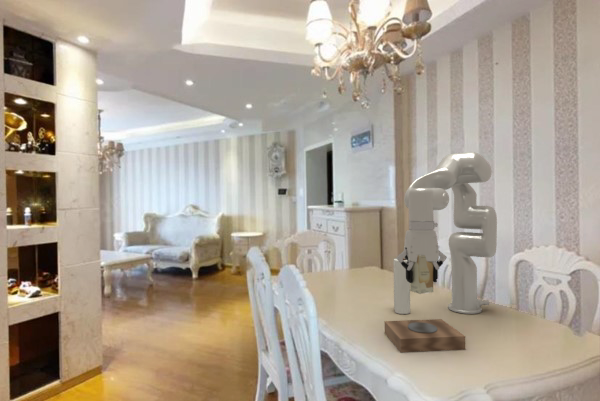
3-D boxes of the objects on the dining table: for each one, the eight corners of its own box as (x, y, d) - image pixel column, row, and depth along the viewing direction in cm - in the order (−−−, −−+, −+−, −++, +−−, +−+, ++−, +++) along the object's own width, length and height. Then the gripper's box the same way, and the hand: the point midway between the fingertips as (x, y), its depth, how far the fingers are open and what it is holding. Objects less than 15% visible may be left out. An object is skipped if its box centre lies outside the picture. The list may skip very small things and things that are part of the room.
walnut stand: (441, 330, 127) (441, 317, 127) (465, 349, 111) (465, 334, 111) (384, 332, 126) (384, 320, 126) (400, 352, 110) (400, 337, 110)
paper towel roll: (410, 315, 145) (410, 260, 145) (395, 314, 146) (394, 260, 146) (409, 309, 152) (408, 257, 152) (394, 308, 153) (393, 257, 153)
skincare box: (419, 294, 115) (419, 255, 115) (409, 291, 119) (409, 253, 119) (434, 292, 118) (434, 253, 118) (424, 289, 122) (423, 252, 122)
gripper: (442, 225, 123) (442, 278, 123) (390, 226, 122) (391, 280, 122) (453, 226, 115) (453, 283, 115) (398, 227, 114) (399, 285, 114)
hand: (421, 281), depth 119 cm, fingers closed on skincare box, 7 cm apart
